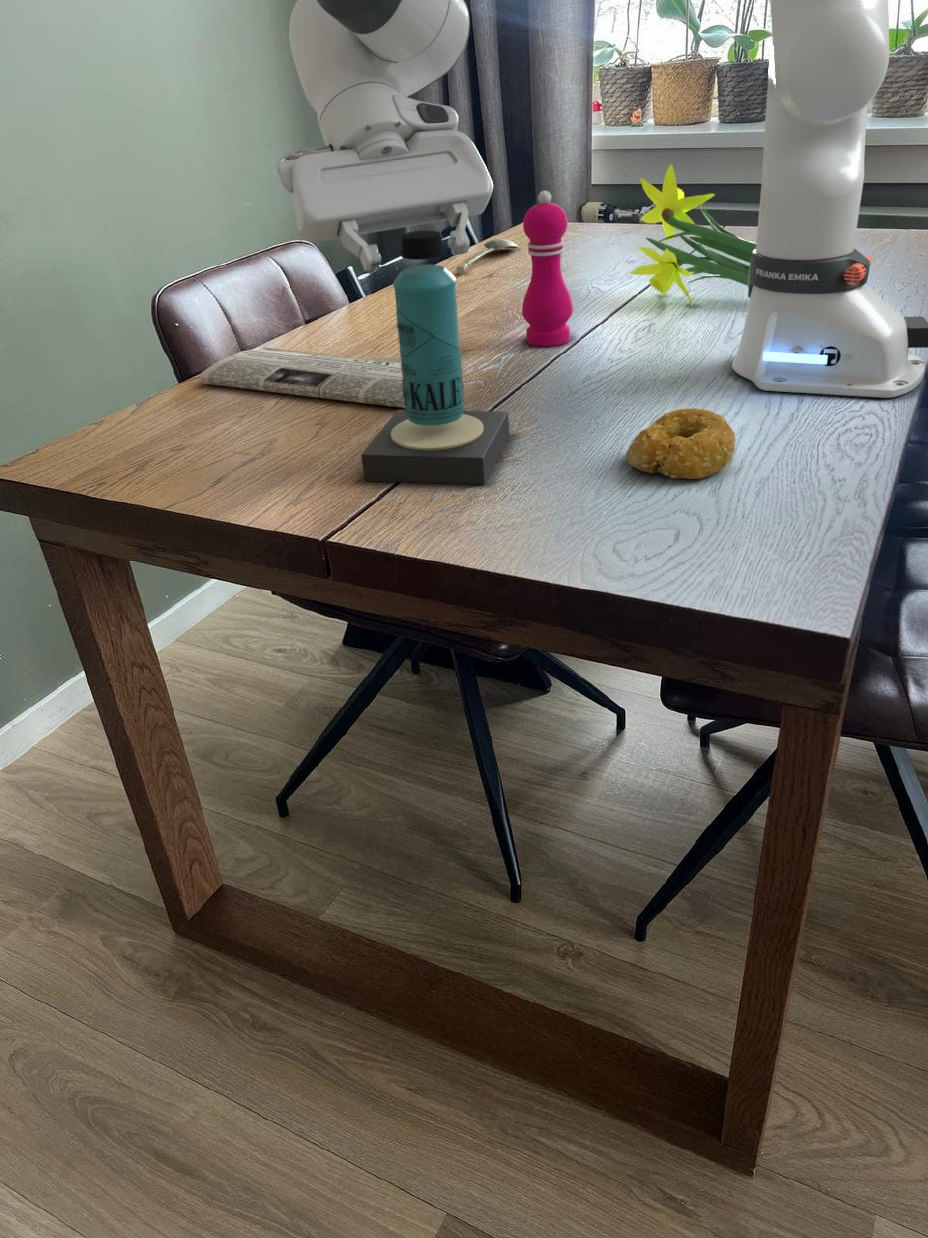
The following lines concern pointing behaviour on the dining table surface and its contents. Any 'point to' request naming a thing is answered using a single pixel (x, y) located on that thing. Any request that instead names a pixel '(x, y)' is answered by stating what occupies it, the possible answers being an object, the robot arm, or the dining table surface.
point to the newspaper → (312, 375)
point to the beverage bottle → (428, 334)
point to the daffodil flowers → (689, 241)
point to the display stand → (437, 449)
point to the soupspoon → (491, 247)
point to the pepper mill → (546, 275)
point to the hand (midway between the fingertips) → (418, 258)
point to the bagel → (684, 444)
